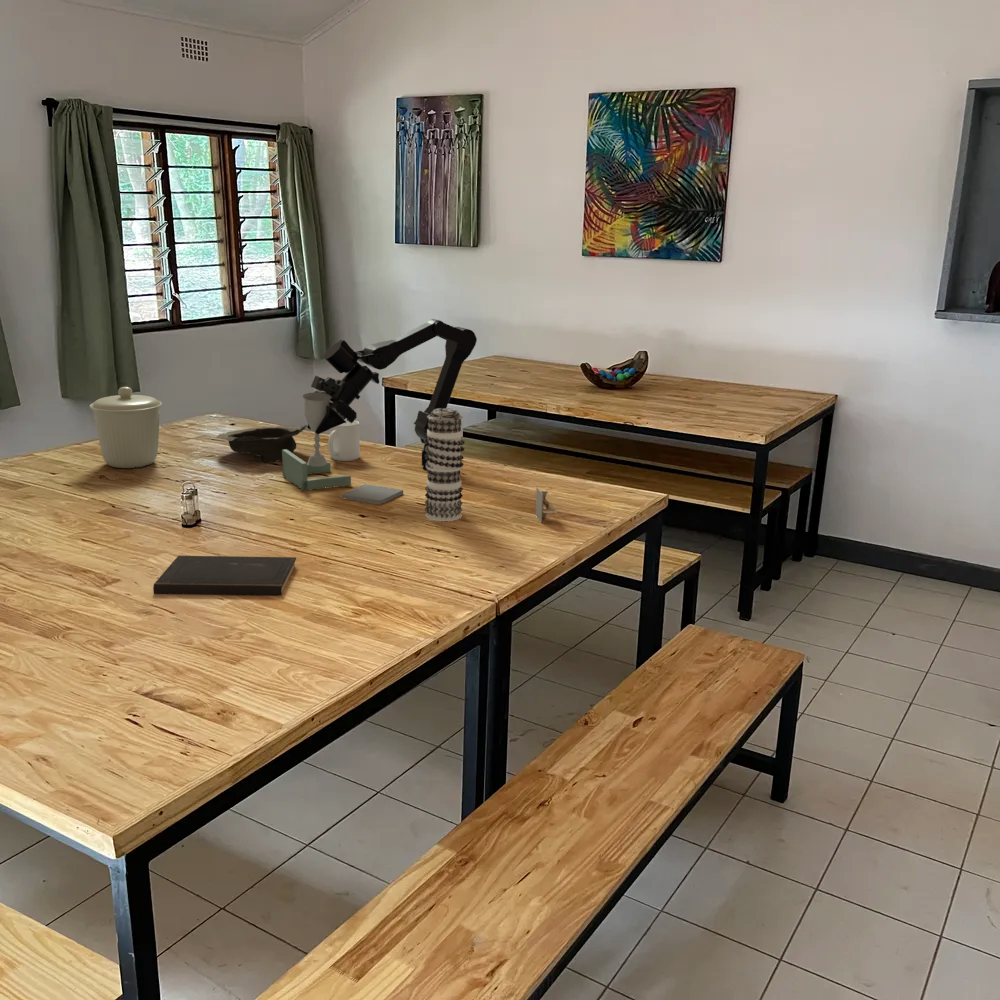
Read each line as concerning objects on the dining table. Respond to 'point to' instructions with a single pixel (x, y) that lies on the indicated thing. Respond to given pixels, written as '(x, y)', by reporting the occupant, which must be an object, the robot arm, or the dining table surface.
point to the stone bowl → (263, 441)
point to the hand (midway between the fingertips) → (312, 430)
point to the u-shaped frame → (299, 469)
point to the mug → (345, 442)
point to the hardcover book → (226, 575)
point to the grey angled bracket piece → (540, 504)
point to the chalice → (316, 421)
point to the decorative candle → (444, 465)
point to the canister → (127, 428)
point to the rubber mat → (372, 494)
